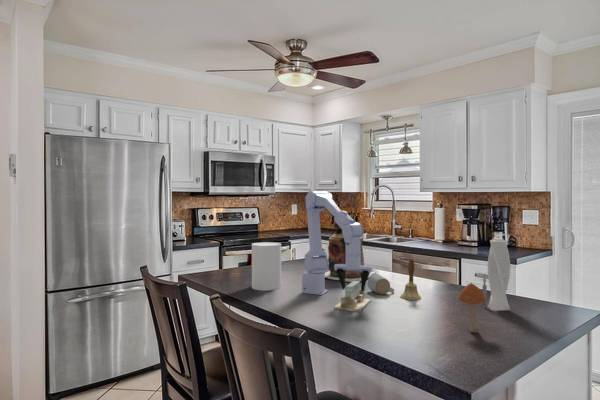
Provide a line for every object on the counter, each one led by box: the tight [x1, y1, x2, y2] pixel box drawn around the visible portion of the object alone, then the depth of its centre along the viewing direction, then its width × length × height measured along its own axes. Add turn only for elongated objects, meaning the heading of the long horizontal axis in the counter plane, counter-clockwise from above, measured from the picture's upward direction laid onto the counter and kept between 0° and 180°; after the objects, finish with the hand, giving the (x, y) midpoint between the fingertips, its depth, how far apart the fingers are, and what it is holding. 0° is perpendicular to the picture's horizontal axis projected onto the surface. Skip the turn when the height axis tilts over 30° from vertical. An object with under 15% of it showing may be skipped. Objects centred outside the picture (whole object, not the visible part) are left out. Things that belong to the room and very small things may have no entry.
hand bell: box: [400, 258, 422, 301], centre depth 164 cm, size 8×8×16 cm
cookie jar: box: [325, 215, 378, 283], centre depth 207 cm, size 25×25×32 cm
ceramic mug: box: [367, 273, 395, 295], centre depth 173 cm, size 11×8×8 cm
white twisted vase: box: [481, 233, 511, 312], centre depth 148 cm, size 8×8×28 cm
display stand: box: [333, 288, 372, 313], centre depth 154 cm, size 10×16×4 cm, turn 157°
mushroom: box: [457, 282, 486, 333], centre depth 123 cm, size 8×8×15 cm
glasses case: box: [344, 281, 361, 298], centre depth 153 cm, size 2×12×5 cm, turn 157°
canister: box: [251, 241, 282, 292], centre depth 184 cm, size 14×14×20 cm
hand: (353, 289), depth 153 cm, fingers open, 7 cm apart
